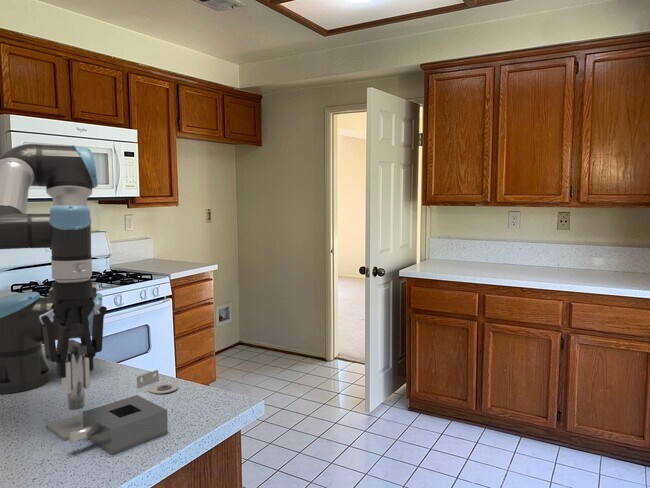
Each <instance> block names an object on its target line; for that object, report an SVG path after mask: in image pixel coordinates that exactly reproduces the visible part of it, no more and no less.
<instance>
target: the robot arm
mask: <svg viewBox="0 0 650 488" xmlns="http://www.w3.org/2000/svg"><path fill="white" fill-rule="evenodd" d="M30 187H45V192H46V194H47V195H48V196H49V197H51V198H52V206H51V207H50V209H49V213H27V210H28V209H27V208H28V201H29V200H28V198H29V189H30ZM97 187H98V176H97V167H96V161H95V159H94V154H93V152H92V150H91V149H90V148H88V147H87V146H78V145H59V144H58V145H57V144H37V143H27V144H26V143H25V144H20V145H17V146H14V147H13V148H10V149H8V150H6V151H5V152H3V153H1V154H0V250H15V249H16V250H18V249H50V250H51V258H50V259H51V260H50V261H51V278H52V280H54V281H53V282H52V283H51V287H50V289H48V293H49V295H48V296H44V297H43V296H42V297H41V294H40V292H37V291H25V292H20V293H19V292H18V293H13V294H8V295H5V296H1V297H0V394H12V393H20V392H25V391H29V390H33V389H36V388H38V387H41V386H43V385H45V384H47V383H48V382H49V381H50V380H51V371H50V367H49V364H48V363H47V361H49V362H51V363H56V376H57V378H59V379H61V391H62V392H63V393H65V394H67V395H68V394H69V393H71V367H70V362H69V361H67V352H68V344H69V340H71V339H72V340H74V339H80V343H82V344H84V345H87V354H84V355H83V357H84V389H86V390H87V389H90V388H91V381H90V380H91V379H90V378H91V377H90V372H92V371H93V370H94V358H95V357H96V354H97V353H101V352H102V350H103V339H104V338H103V336H104V318H105V315H106V312H107V309H108V308H107V307H106V306H104V305H103V294H102V293H100V292H98V291H97V286H96V285H94V284H93V280H92V279H91V278H92V277H93V263H92V261H93V260H92V259H93V258H92V226H91V224H92V218H91V210H90V208H89V206H88V198H89V197H90V196H91V195H92V194H93V189H96V188H97ZM56 341H57V342H56ZM42 342H43V344H44V345H43V346H44V351H45V353H43V350H42V349H43V348H42ZM44 354H45V356H44Z"/></svg>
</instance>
